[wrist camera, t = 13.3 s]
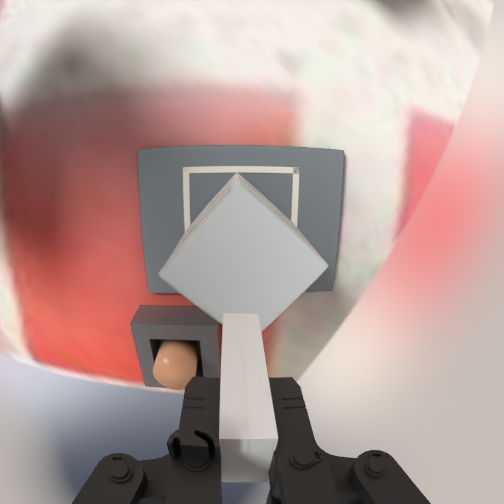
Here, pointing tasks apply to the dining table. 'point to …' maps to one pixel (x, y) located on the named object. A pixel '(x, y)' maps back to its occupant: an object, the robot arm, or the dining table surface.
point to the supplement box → (242, 257)
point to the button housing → (176, 337)
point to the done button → (175, 363)
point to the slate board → (216, 177)
